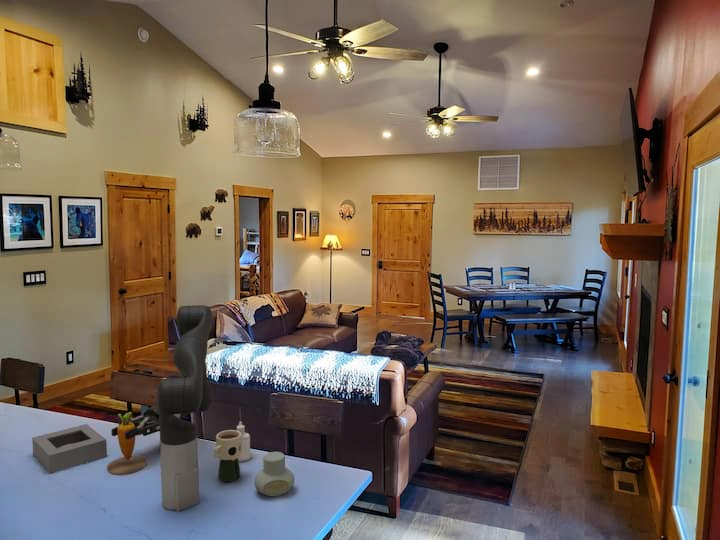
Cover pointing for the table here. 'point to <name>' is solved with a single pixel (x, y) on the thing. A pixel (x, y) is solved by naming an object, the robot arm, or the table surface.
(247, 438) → the eye dropper bottle
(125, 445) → the carrot
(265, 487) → the air freshener
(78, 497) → the table surface
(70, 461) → the box
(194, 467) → the robot arm
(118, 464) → the walnut pad
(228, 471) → the character mug
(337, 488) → the table surface
